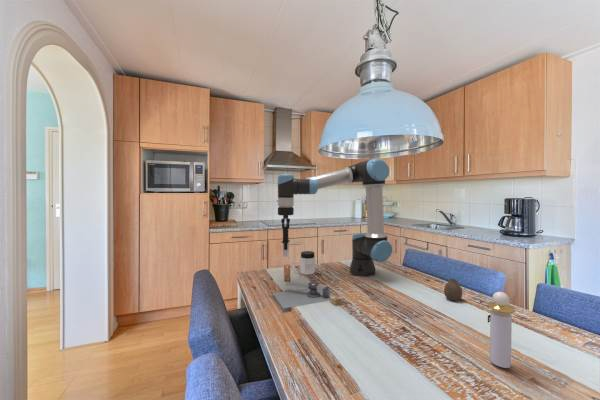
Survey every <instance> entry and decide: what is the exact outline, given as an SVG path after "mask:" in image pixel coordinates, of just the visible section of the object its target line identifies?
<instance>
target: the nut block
mask: <svg viewBox="0 0 600 400" xmlns="http://www.w3.org/2000/svg"><path fill="white" fill-rule="evenodd" d="M333 295H334V296H330V301H329V303H330V304H332V305H333V306H334V307H336V306H340V305H341V306H342V305H344V297H342V296H340V295H339V294H333Z"/></svg>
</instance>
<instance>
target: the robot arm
mask: <svg viewBox="0 0 600 400" xmlns="http://www.w3.org/2000/svg"><path fill="white" fill-rule="evenodd" d="M389 175H390V168H389V165H388V163H387V162H385V160H384V159H380V158H371V159H366V160H363V161H359V162H357V163H355V164H352V165H348V166H345V167H344V168H343V169H338V170H335V171H329V172H326V173H322V174H317V175H313V176H309V177H305V178H295V176H294V174H293V173H292V174H290V173H281V174H279V175H278V177H277V199H276V202H277V206H278V207H277V215H278V216H282V218H281V228H282V241H281V242H280V243H282V257H289V249H290V248H289V247H290V246H289V243H290V242H291V240H289V229H290V222H291V218H289V216H293V215H294V212H295V211H294V210H295V209H294V208H295V207H294V206H295V201H294V195H316V194H317V192H318V191H319V190H321V189H325V188H329V187H333V186H337V185H340V184H345V183H347V184H353V183H362V186H363V187H364V189H365V204H366V206H365V207H366V208H365V209H366V226H367V229H366V230H367V232H366V233H364V232H363V233H354V234H353V235H352V239H351V241H352V242H351V243H352V244H351V247H352V249H351V251H352V253H351V254H352V259H351V262H350V265H349V268H348V269H349V273H350V274H351V275H354V276H360V277H371V276H375V275H376V273H377V272H376V271H377V270H376V269H377V268H376V267H375V266H376V265H375V262H379V263H383V262H386V261H387V260H389V258H391V255H392V254H393V246H392V245H393V244H391V242H390V241H388V234H387V233H385V224H384V222H385V221H384V197H383V195H384V194H383V188H384V186H385V185H386V179H387V178H388V177H389Z"/></svg>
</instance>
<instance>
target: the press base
mask: <svg viewBox="0 0 600 400" xmlns="http://www.w3.org/2000/svg"><path fill="white" fill-rule="evenodd" d="M334 295H335V294H334V293H332V292H331V291H330V295H329V296H328V297H325V296H323V290H318V289H315V290H312V289H309V288H304V287H303V288H299V289H291V290H285V291H279V292H273V293H272V298H273V299H274V301H275V302H276V304H277V306H279V308H280V309H281V311H282V312H283V313H287V312H292V311H293V310H292V309H291V308H294V307H300V306H301V307H302V306H307V305H311V304H319V303H325V302H330V296H334Z"/></svg>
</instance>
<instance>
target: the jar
mask: <svg viewBox="0 0 600 400" xmlns="http://www.w3.org/2000/svg"><path fill="white" fill-rule="evenodd" d="M299 263H300V264H299V268H300V269H299V271H300V272H299V273H300V274H302V275H305V276H306V275H307V276H308V275H314V274H315V273H316V256H315V252H314V251H312V250H305V251H301V252H300V257H299Z"/></svg>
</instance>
